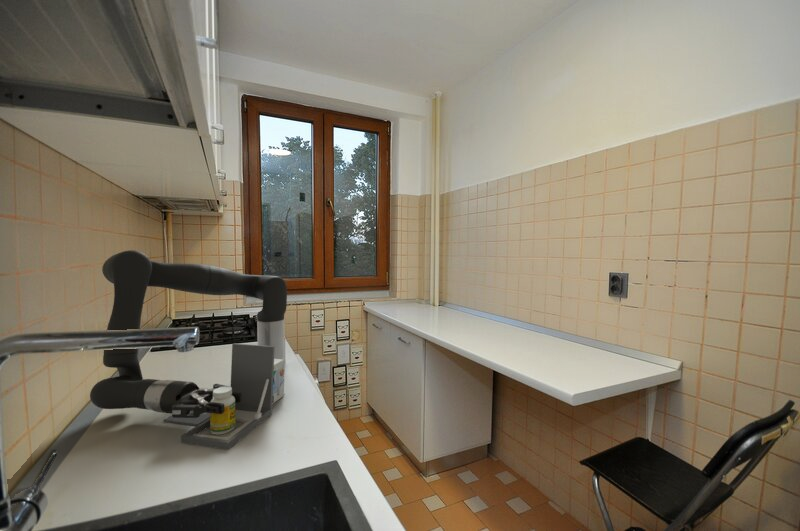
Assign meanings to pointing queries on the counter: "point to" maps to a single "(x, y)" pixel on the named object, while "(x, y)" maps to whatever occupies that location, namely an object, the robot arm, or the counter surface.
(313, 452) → the counter surface
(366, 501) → the counter surface
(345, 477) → the counter surface
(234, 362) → the case
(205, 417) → the pad
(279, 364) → the light bulb box
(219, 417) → the supplement bottle
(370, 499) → the counter surface
